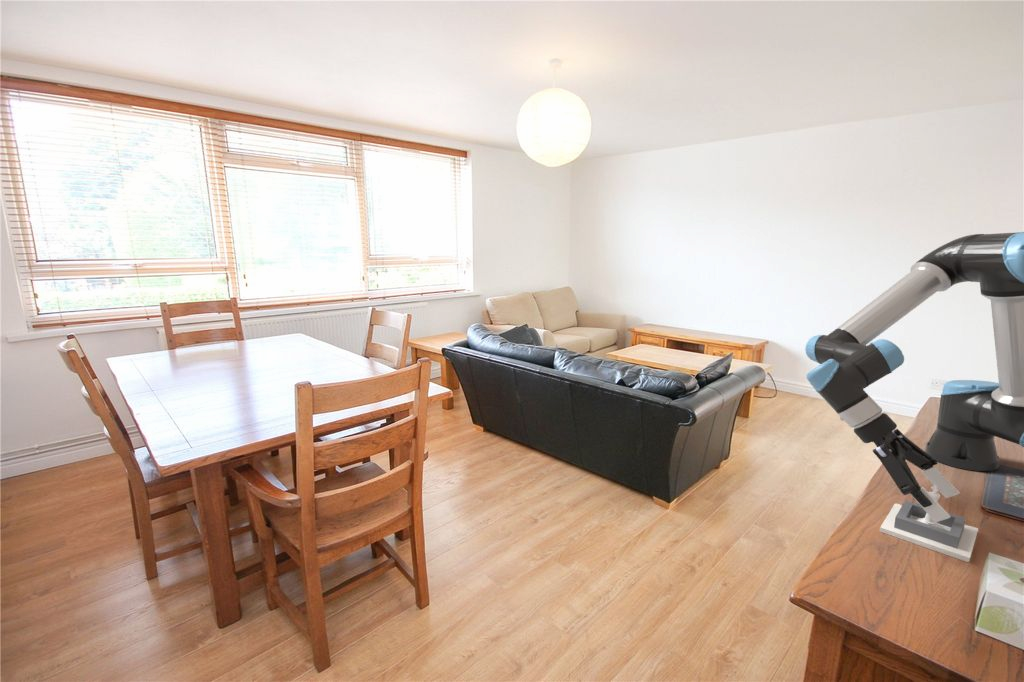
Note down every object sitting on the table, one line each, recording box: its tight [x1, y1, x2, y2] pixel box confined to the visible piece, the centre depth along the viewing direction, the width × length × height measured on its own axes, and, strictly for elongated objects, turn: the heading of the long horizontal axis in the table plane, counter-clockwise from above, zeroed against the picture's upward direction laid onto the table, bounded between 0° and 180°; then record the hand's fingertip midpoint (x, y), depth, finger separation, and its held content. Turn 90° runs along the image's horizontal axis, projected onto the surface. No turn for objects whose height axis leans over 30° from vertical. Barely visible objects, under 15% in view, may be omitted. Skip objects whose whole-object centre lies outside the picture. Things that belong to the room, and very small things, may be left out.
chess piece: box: [915, 485, 944, 529], centre depth 98 cm, size 5×5×10 cm
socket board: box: [879, 499, 979, 563], centre depth 99 cm, size 14×14×4 cm
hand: (948, 507), depth 96 cm, fingers open, 12 cm apart
